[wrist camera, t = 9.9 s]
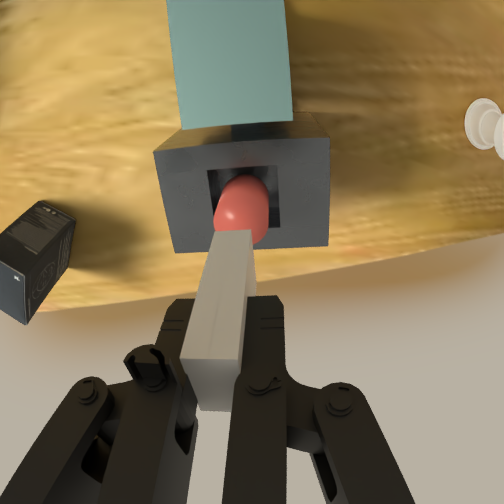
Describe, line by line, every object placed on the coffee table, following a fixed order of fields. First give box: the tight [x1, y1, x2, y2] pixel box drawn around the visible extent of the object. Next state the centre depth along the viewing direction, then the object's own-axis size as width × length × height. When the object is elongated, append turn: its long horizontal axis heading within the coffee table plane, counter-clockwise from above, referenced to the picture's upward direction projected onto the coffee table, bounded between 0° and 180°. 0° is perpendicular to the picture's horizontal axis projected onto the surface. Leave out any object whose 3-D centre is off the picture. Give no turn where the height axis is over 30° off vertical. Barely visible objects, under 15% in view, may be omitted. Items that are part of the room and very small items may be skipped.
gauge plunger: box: [213, 174, 269, 244], centre depth 18 cm, size 3×3×4 cm
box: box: [0, 201, 76, 325], centre depth 29 cm, size 8×6×11 cm
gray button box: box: [153, 112, 330, 253], centre depth 23 cm, size 10×7×10 cm
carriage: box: [166, 0, 293, 130], centre depth 18 cm, size 6×8×9 cm
